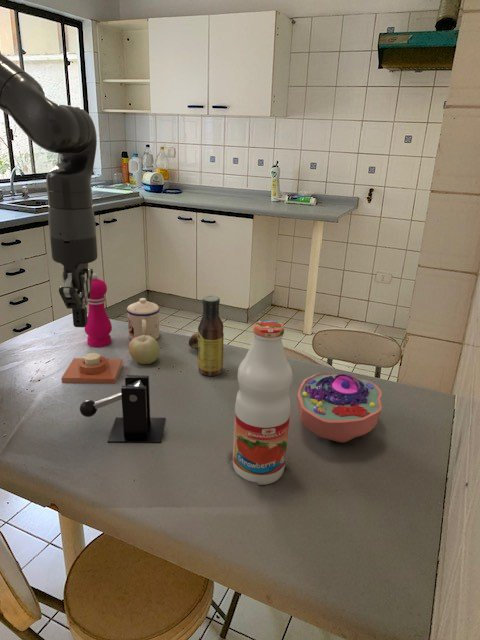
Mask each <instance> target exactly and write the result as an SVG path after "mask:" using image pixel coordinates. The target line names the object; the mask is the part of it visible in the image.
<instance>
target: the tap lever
mask: <svg viewBox="0 0 480 640" xmlns="http://www.w3.org/2000/svg"><path fill="white" fill-rule="evenodd" d="M127 386H144V385H143V383H142V382H141V380H138V381H136V382H133V383H131V384H128V385H127ZM119 401H122V395H121V391H119V392H118V393H115V394H113V395H110V396H108V397H105V398H102V399H100V400H97V401H94V400H93V399H92V400H91V399H86V400H84V401H83V402H82V403H81V404H80V406H79V412H80V414H81V415H82V416H83V417H84V418H91V417H93V416H95V415H96V413H97V412H98V409H100V408H103V407H105V406H109V405H110V404H113V403H116V402H119Z"/></svg>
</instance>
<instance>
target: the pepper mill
mask: <svg viewBox="0 0 480 640" xmlns="http://www.w3.org/2000/svg"><path fill="white" fill-rule="evenodd" d="M107 291H108V286H107V284H106V282H105V281H104V280H103V279H100V278H99V276H98V274H97V273H95V272H93V276H92V285H91V293H90V299H88V305H87V306H88V311H87V319H88V323H87V325H86V326H85V327H84V333H85V334H86V335H87V337H86V339H87V341H86V342H87V345H88V346H90V347H93V348H102V347H106V346H108V345H110V344H111V343H112V336H111V333H112V331H113V325H112V321H111V319H110V318H109V315H108V314H107V311H106V308H105V303H106V301H107V297H106V294H107Z"/></svg>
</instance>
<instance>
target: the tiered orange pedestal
mask: <svg viewBox="0 0 480 640" xmlns="http://www.w3.org/2000/svg"><path fill="white" fill-rule="evenodd" d="M100 360H101V362H100V363H99V364H97V365H93V366H91V365H85V360H84V357H82V358H81V357H79V358H78V357H74V358H73V359H72V360H71V361H70V364H69V365H68V367H67V368H66V370H65V371H64V373H63V375H62V376H61V379H60V380H61V384H106V385H107V384H110V385H111V384H115V383H116V382H117V380H119V377H120V375H121V372H122V370H123V368H124V363H123V362H124V361H123V358H106V357H105V356H103V355H100Z"/></svg>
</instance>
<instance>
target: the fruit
mask: <svg viewBox="0 0 480 640" xmlns="http://www.w3.org/2000/svg"><path fill="white" fill-rule="evenodd" d="M128 353H129V355H130V357H131V359H133V361H135V362H136V363H138V364H139V365H150V364H152V363H154V362H156V360H157V359H158V357H159V354H160V346H159V342H158V341H157V339H156V340H155V339H154V338H153V337H151V336H149V335H147V334H145V335H142V336H138V337H136V338H134V339H133V340H131V341H130V342H129V345H128Z"/></svg>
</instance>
